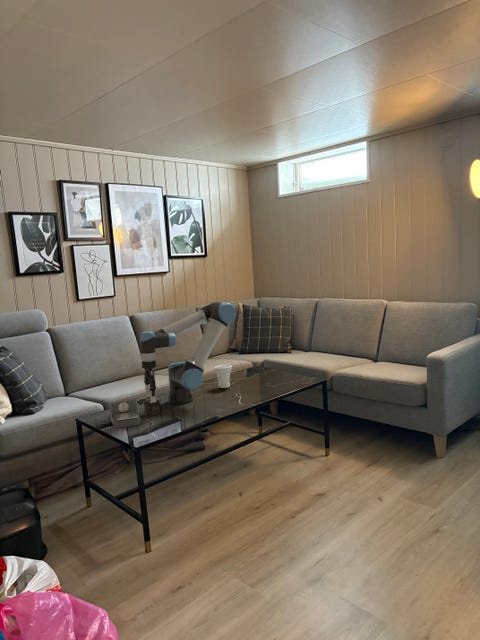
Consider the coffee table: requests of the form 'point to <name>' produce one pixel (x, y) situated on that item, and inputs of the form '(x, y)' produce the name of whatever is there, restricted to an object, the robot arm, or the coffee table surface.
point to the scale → (124, 407)
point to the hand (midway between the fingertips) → (150, 399)
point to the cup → (223, 375)
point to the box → (152, 407)
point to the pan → (125, 416)
